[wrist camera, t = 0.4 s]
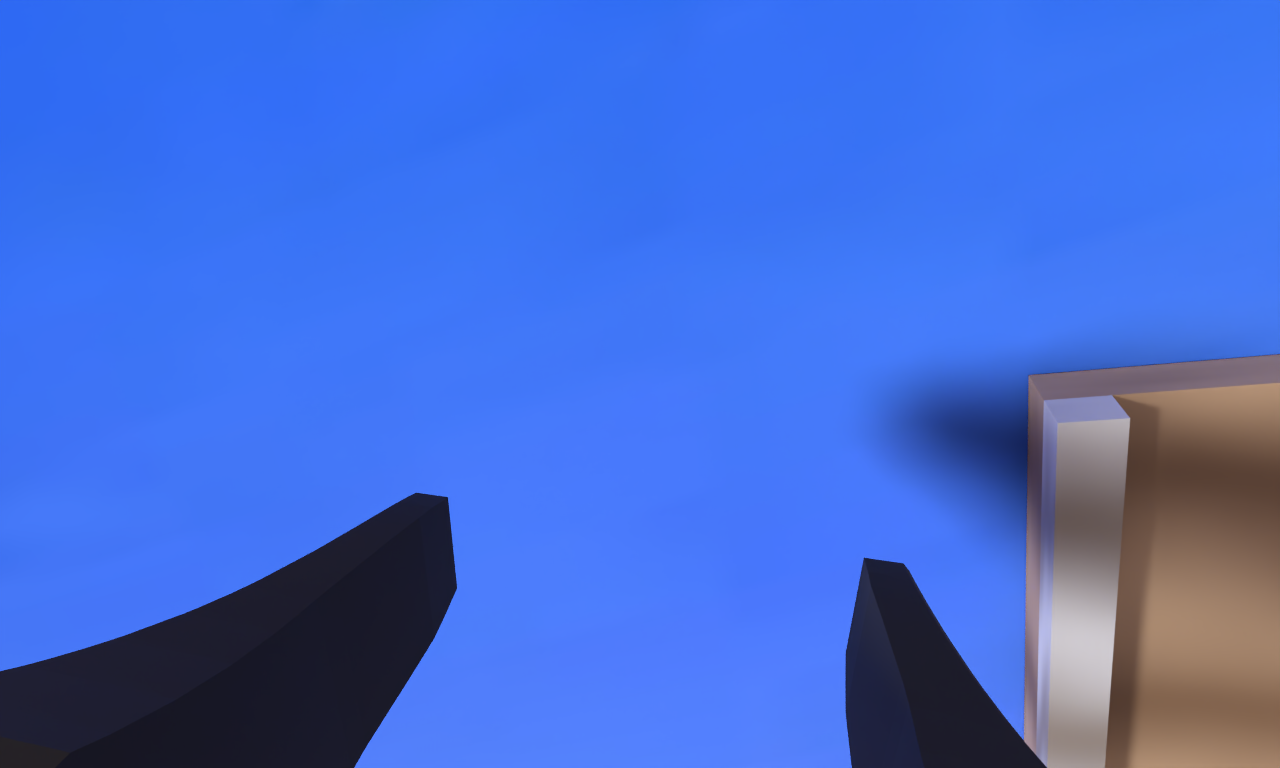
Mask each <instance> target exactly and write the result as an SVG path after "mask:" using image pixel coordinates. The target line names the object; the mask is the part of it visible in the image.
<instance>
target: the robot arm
mask: <svg viewBox="0 0 1280 768" xmlns="http://www.w3.org/2000/svg"><path fill="white" fill-rule="evenodd" d="M456 589H457V583H456V573H455V564H454V554H453V544H452V534H451V524H450V514H449V505H448V497H442V496H435V495H428V494H421V493H415V494H413V495H411V496H409V497H407V498H405V499H403V500H401V501H400V502H398V503H396V504H394V505H392V506H391V507H389V508H387V509H386V510H384V511H382V512H380V513H379V514H377V515H375V516H374V517H372V518H370V519H369V520H367V521H365V522H364V523H362V524H360V525H358V526H357V527H355V528H353V529H352V530H350V531H348V532H346V533H345V534H343V535H341V536H340V537H338V538H336V539H334V540H333V541H331V542H329V543H327V544H326V545H324V546H322V547H321V548H319V549H317V550H315V551H313V552H312V553H310V554H308V555H306V556H304V557H302V558H300V559H298V560H296V561H295V562H293V563H291V564H289V565H287V566H285V567H283V568H281V569H280V570H278V571H276V572H274V573H272V574H270V575H268V576H266V577H264V578H263V579H261V580H259V581H256V582H254V583H252V584H250V585H248V586H246V587H244V588H242V589H240V590H238V591H236V592H233V593H231V594H229V595H227V596H224V597H222V598H220V599H218V600H215V601H213V602H211V603H208V604H206V605H204V606H202V607H199V608H197V609H194V610H192V611H190V612H187V613H185V614H182V615H179V616H176V617H174V618H171V619H168V620H166V621H163V622H160V623H158V624H155V625H152V626H149V627H147V628H144V629H141V630H139V631H136V632H133V633H131V634H128V635H125V636H122V637H119V638H116V639H113V640H110V641H107V642H104V643H101V644H98V645H94V646H91V647H88V648H85V649H82V650H78V651H75V652H71V653H68V654H64V655H61V656H58V657H54V658H51V659H47V660H44V661H40V662H36V663H32V664H29V665H25V666H21V667H17V668H13V669H8V670H4V671H0V768H354V767H355V765H356V763H357V762H358V760H359V758H360V756H361V755H362V753H363V751H364V750H365V748H366V746H367V744H368V743H369V741H370V740H371V738H372V737H373V735H374V733H375V732H376V730H377V729H378V727H379V726H380V724H381V722H382V721H383V719H384V718H385V716H386V714H387V713H388V711H389V710H390V708H391V707H392V705H393V703H394V702H395V700H396V699H397V697H398V696H399V694H400V692H401V691H402V689H403V688H404V686H405V684H406V683H407V681H408V680H409V678H410V677H411V675H412V673H413V672H414V670H415V668H416V667H417V665H418V664H419V662H420V660H421V659H422V657H423V656H424V654H425V652H426V651H427V649H428V647H429V646H430V644H431V642H432V641H433V639H434V637H435V635H436V633H437V631H438V629H439V627H440V625H441V623H442V621H443V618H444V616H445V614H446V612H447V610H448V607H449V605H450V603H451V600H452V598H453V596H454V594H455V591H456ZM846 719H847V728H848V737H849V746H850V755H851V764H852V768H1047V767H1046V766H1045V765H1044V763H1043V762H1042V761H1041V760H1040V759H1039V758H1038V757H1037V755H1036V754H1035V753H1034V752H1033V751H1032V750H1031V749H1030V747H1029V746H1028V745H1027V744H1026V743H1025V742H1024V740H1023V739H1022V738H1021V737H1020V736H1019V734H1018V733H1017V732H1016V731H1015V729H1014V728H1013V727H1012V726H1011V724H1010V723H1009V722H1008V721H1007V719H1006V718H1005V717H1004V716H1003V714H1002V713H1001V712H1000V710H999V709H998V708H997V706H996V705H995V704H994V702H993V701H992V700H991V698H990V697H989V696H988V694H987V693H986V692H985V690H984V689H983V688H982V686H981V685H980V684H979V682H978V681H977V679H976V678H975V677H974V675H973V674H972V672H971V671H970V669H969V668H968V666H967V665H966V663H965V662H964V661H963V659H962V658H961V656H960V655H959V653H958V652H957V650H956V649H955V647H954V646H953V644H952V643H951V641H950V640H949V638H948V636H947V635H946V633H945V632H944V630H943V629H942V627H941V625H940V624H939V622H938V620H937V619H936V617H935V616H934V614H933V612H932V611H931V609H930V607H929V606H928V604H927V602H926V600H925V599H924V597H923V595H922V593H921V592H920V590H919V588H918V586H917V585H916V583H915V581H914V579H913V577H912V575H911V574H910V572H909V570H908V569H907V568H906V566H905V565H904V564H903V563H896V562H889V561H882V560H875V559H868V558H864V561H863V566H862V571H861V576H860V581H859V587H858V592H857V597H856V602H855V607H854V613H853V618H852V623H851V628H850V634H849V639H848V644H847V649H846Z"/></svg>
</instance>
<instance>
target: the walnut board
mask: <svg viewBox="0 0 1280 768" xmlns="http://www.w3.org/2000/svg"><path fill="white" fill-rule="evenodd" d="M1024 742H1025V743H1026V744H1027V745H1028V746H1029V747H1030V749H1031V750H1032V751H1033V752H1034V753H1035V754H1036V755H1037V757H1038V758H1039V759H1040V760H1041V761H1042V762H1043V763H1044V765H1045V766H1046V767H1047V768H1280V354H1278V355H1266V356H1254V357H1242V358H1230V359H1218V360H1206V361H1194V362H1182V363H1170V364H1158V365H1145V366H1133V367H1121V368H1109V369H1097V370H1085V371H1073V372H1061V373H1049V374H1037V375H1029V388H1028V466H1027V543H1026V621H1025V698H1024Z"/></svg>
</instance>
